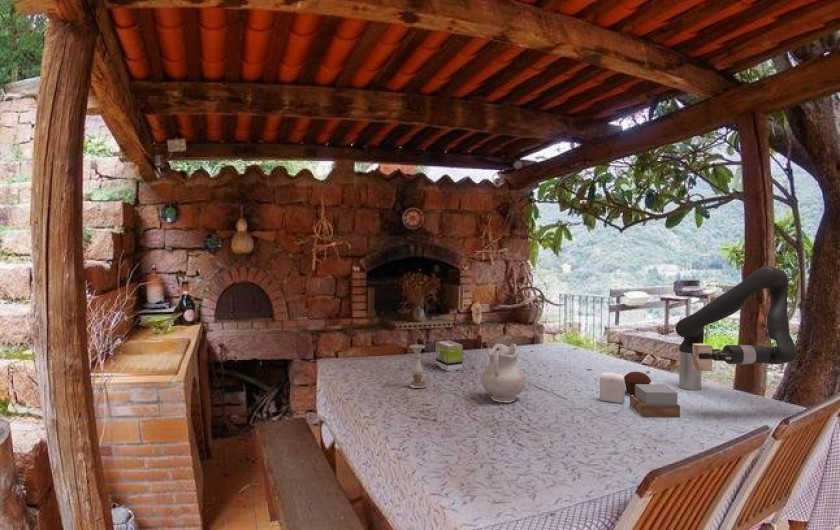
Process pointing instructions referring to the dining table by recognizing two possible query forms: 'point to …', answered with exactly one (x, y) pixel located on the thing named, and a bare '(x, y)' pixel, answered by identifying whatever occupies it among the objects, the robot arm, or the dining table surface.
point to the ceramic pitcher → (503, 373)
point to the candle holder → (417, 365)
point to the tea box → (449, 355)
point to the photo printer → (612, 387)
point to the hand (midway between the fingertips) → (695, 354)
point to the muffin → (635, 381)
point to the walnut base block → (654, 409)
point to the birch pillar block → (701, 363)
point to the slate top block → (655, 394)
